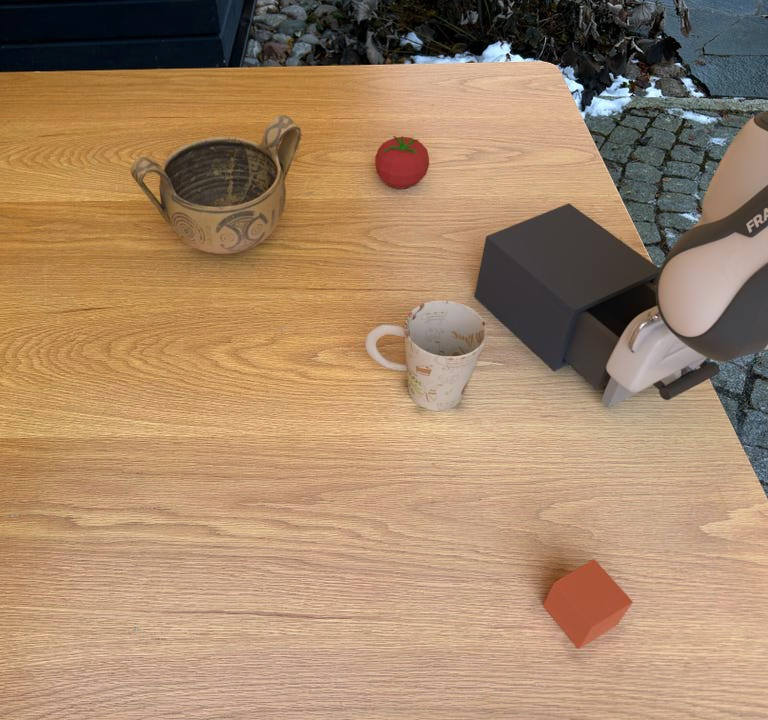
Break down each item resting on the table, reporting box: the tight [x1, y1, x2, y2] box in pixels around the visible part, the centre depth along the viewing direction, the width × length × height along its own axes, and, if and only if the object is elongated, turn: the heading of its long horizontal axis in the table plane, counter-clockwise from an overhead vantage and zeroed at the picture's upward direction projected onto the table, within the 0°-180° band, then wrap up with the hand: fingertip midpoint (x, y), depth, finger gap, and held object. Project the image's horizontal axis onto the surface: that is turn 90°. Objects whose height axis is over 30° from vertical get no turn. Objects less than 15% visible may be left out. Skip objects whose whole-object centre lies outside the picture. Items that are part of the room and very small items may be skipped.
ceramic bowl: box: [130, 113, 302, 255], centre depth 98 cm, size 22×17×15 cm
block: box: [542, 558, 634, 650], centre depth 64 cm, size 4×4×4 cm
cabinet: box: [473, 203, 661, 372], centre depth 88 cm, size 15×13×10 cm
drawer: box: [563, 281, 721, 409], centre depth 82 cm, size 18×11×8 cm, turn 28°
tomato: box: [374, 135, 430, 189], centre depth 109 cm, size 8×8×8 cm
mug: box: [364, 299, 488, 412], centre depth 80 cm, size 8×13×10 cm, turn 71°
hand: (673, 379), depth 78 cm, fingers closed, pressing on drawer
